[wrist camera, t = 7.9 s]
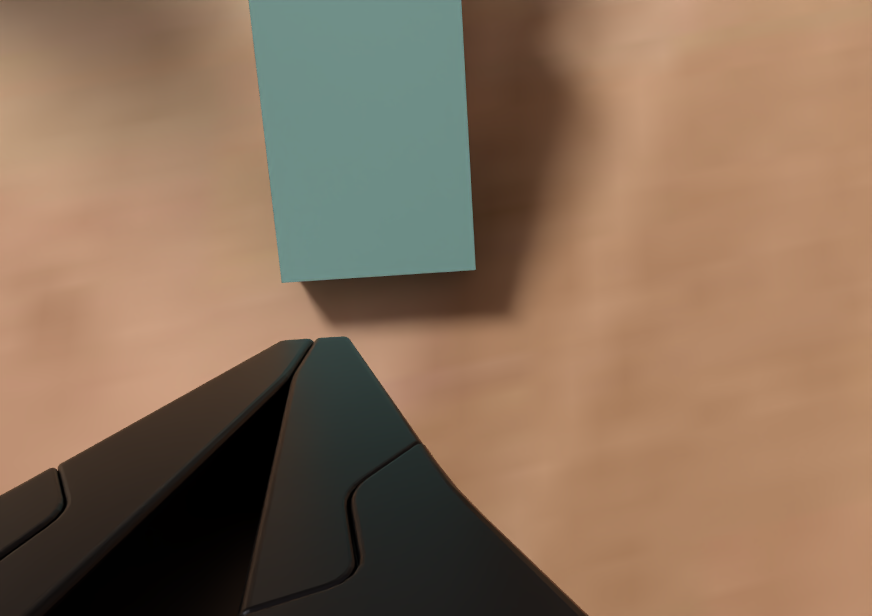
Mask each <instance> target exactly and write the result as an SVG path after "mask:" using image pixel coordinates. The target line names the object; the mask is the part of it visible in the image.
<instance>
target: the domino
mask: <svg viewBox="0 0 872 616" xmlns="http://www.w3.org/2000/svg"><path fill="white" fill-rule="evenodd" d="M249 8H250V17H251V25H252V34H253V42H254V51H255V59H256V68H257V76H258V85H259V93H260V102H261V110H262V119H263V127H264V136H265V144H266V153H267V161H268V170H269V178H270V187H271V195H272V204H273V212H274V221H275V229H276V238H277V246H278V255H279V263H280V272H281V280H282V283H285V282H300V281H315V280H330V279H346V278H361V277H376V276H391V275H406V274H421V273H437V272H452V271H467V270H476V267H475V249H474V230H473V211H472V193H471V174H470V155H469V137H468V118H467V100H466V81H465V62H464V44H463V25H462V6H461V0H249Z"/></svg>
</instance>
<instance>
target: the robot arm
mask: <svg viewBox="0 0 872 616" xmlns="http://www.w3.org/2000/svg"><path fill="white" fill-rule="evenodd" d="M0 616H588V615H587V614H586V613H585V612H584V611H583V610H582V609H581V608H580V607H579V606H578V605H577V604H576V603H575V602H574V601H573V600H572V599H571V598H569V597H568V596H567V595H566V594H565V593H564V592H563V591H562V590H561V589H560V588H559V587H558V586H557V585H556V584H555V583H554V582H553V581H552V580H551V579H550V578H549V577H548V576H547V575H545V574H544V573H543V572H542V571H541V570H540V569H539V568H538V567H537V566H536V565H535V564H534V563H533V562H532V561H531V560H530V559H529V558H528V557H527V556H526V555H525V554H524V553H522V552H521V551H520V550H519V549H518V548H517V547H516V546H515V545H514V544H513V543H512V542H511V541H510V540H509V539H508V538H507V537H506V536H505V535H504V534H503V533H502V532H501V531H500V530H498V529H497V528H496V527H495V526H494V525H493V524H492V523H491V522H490V521H489V520H488V519H487V518H486V517H485V516H484V515H483V514H482V513H481V512H480V511H479V510H478V509H477V508H476V507H475V506H474V505H473V504H472V503H471V502H470V501H469V500H468V499H467V497H466V496H465V495H464V494H463V493H462V492H461V491H460V490H459V489H458V488H457V487H456V486H455V484H454V483H453V482H452V481H451V479H450V478H449V477H448V476H447V474H446V473H445V472H444V471H443V469H442V468H441V467H440V466H439V464H438V463H437V462H436V460H435V459H434V457H433V456H432V455H431V453H430V452H429V450H428V449H427V447H426V446H425V445H423V444H422V442H421V440H420V439H419V438H418V436H417V435H416V433H415V432H414V430H413V429H412V428H411V426H410V425H409V423H408V422H407V420H406V419H405V418H404V416H403V415H402V413H401V412H400V410H399V409H398V408H397V406H396V405H395V403H394V402H393V401H392V399H391V398H390V396H389V395H388V393H387V392H386V391H385V389H384V388H383V386H382V385H381V383H380V382H379V381H378V379H377V378H376V376H375V375H374V373H373V372H372V371H371V369H370V368H369V366H368V365H367V363H366V362H365V361H364V359H363V358H362V356H361V355H360V353H359V352H358V351H357V349H356V348H355V346H354V345H353V343H352V342H351V341H350V339H349V338H347V337H328V338H318V339H317V340H316V341H315V342H313V341H312V340H310V339H298V340H285V341H280V342H278V343H277V344H275V345H273V346H271V347H269V348H268V349H266V350H264V351H262V352H260V353H259V354H257V355H255V356H253V357H251V358H250V359H248V360H246V361H244V362H242V363H241V364H239V365H237V366H235V367H233V368H232V369H230V370H228V371H226V372H225V373H223V374H221V375H219V376H217V377H216V378H214V379H212V380H210V381H208V382H207V383H205V384H203V385H201V386H199V387H198V388H196V389H194V390H192V391H190V392H189V393H187V394H185V395H183V396H181V397H180V398H178V399H176V400H174V401H173V402H171V403H169V404H167V405H165V406H164V407H162V408H160V409H158V410H156V411H155V412H153V413H151V414H149V415H147V416H146V417H144V418H142V419H140V420H138V421H137V422H135V423H133V424H131V425H129V426H128V427H126V428H124V429H122V430H120V431H119V432H117V433H115V434H113V435H112V436H110V437H108V438H106V439H104V440H103V441H101V442H99V443H97V444H95V445H94V446H92V447H90V448H88V449H86V450H85V451H83V452H81V453H79V454H77V455H76V456H74V457H72V458H70V459H68V460H67V461H65V462H63V463H61V464H60V465H59V466H58V471H57V469H55V468H50V469H48V470H46V471H44V472H42V473H41V474H39V475H37V476H35V477H33V478H32V479H30V480H28V481H26V482H24V483H23V484H21V485H19V486H17V487H15V488H13V489H12V490H10V491H8V492H6V493H4V494H2V495H0Z"/></svg>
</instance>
